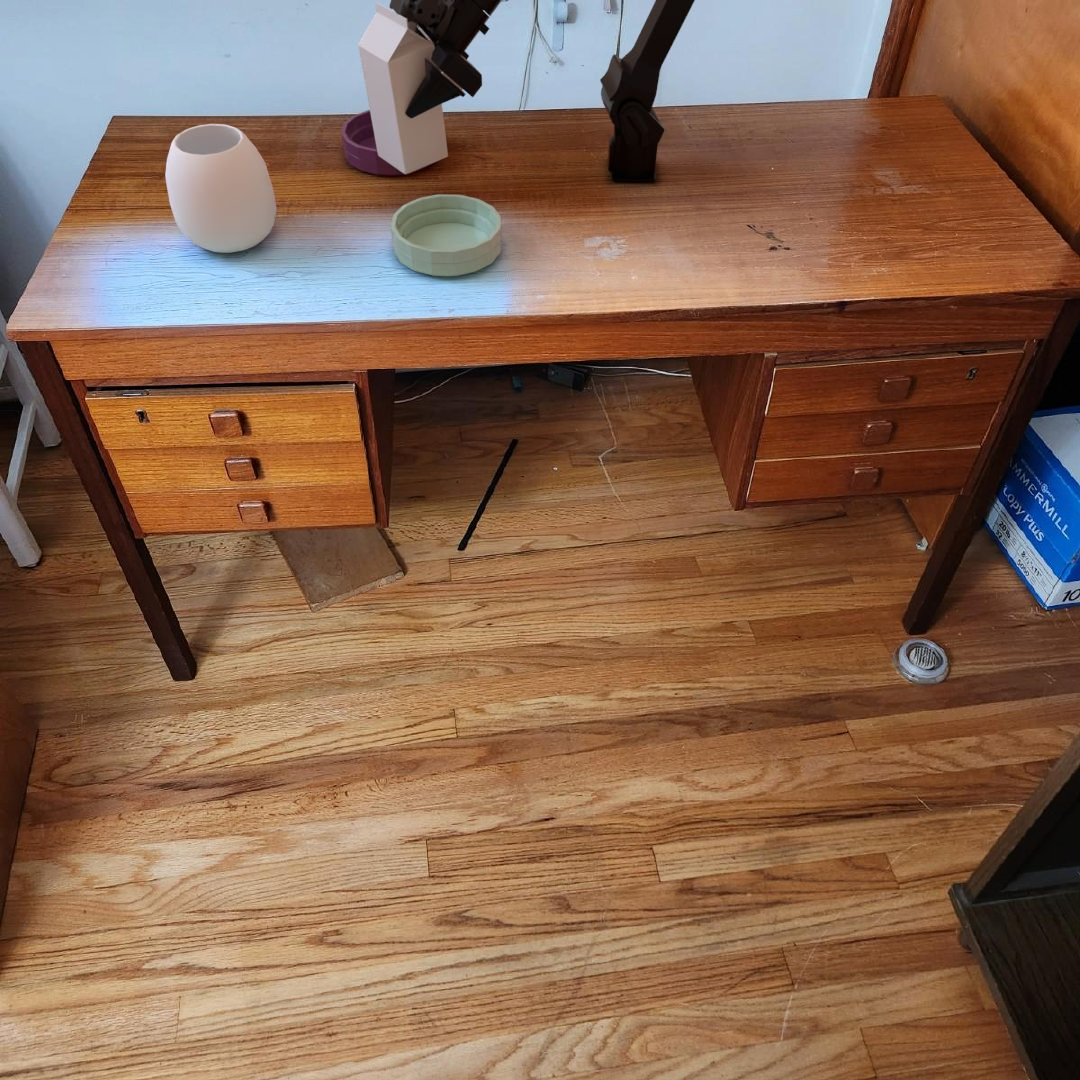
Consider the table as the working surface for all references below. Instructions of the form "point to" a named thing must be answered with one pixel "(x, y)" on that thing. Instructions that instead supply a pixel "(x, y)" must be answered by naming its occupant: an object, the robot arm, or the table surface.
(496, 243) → the celadon bowl
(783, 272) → the table surface
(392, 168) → the plum bowl
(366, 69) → the milk carton
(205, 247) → the cup
